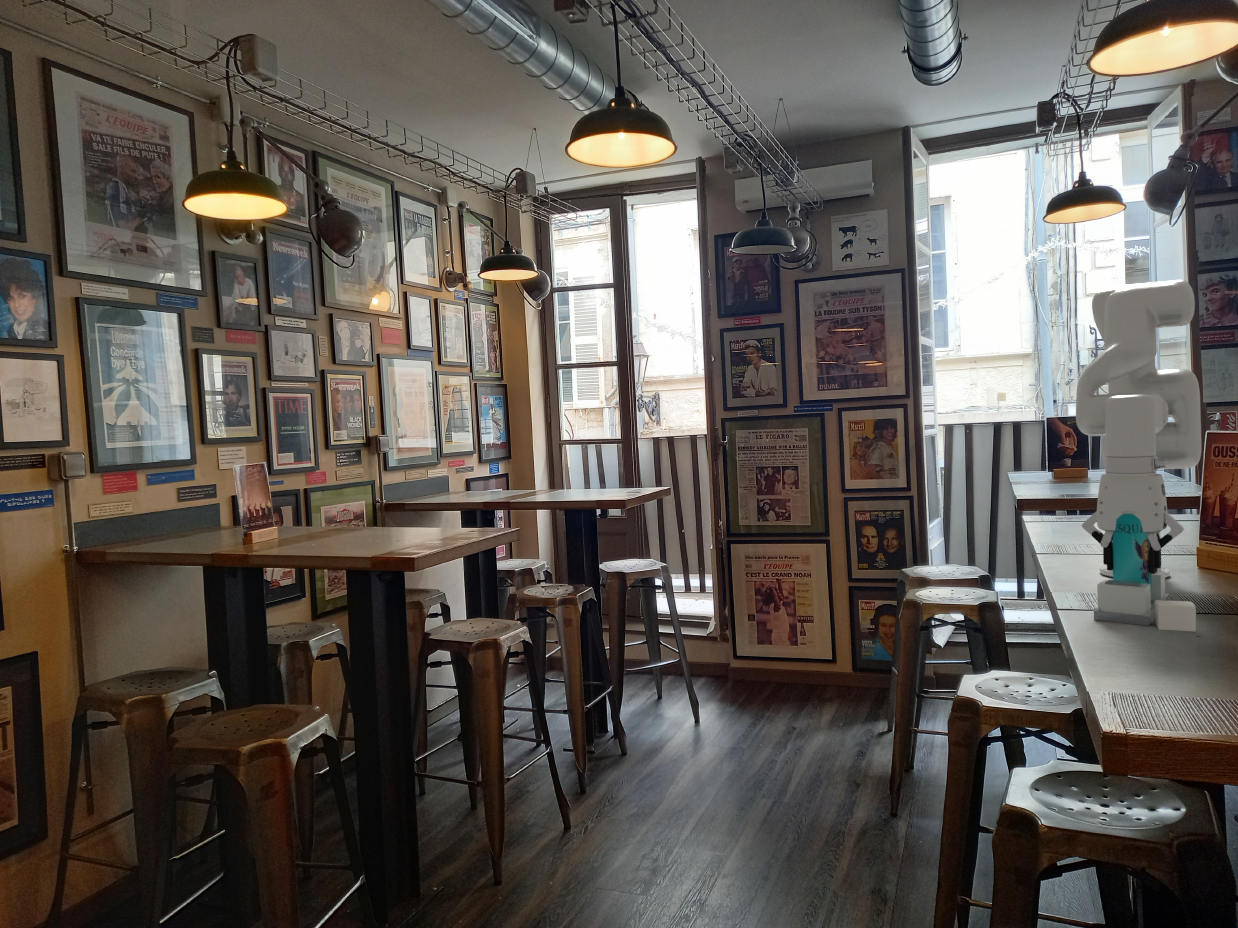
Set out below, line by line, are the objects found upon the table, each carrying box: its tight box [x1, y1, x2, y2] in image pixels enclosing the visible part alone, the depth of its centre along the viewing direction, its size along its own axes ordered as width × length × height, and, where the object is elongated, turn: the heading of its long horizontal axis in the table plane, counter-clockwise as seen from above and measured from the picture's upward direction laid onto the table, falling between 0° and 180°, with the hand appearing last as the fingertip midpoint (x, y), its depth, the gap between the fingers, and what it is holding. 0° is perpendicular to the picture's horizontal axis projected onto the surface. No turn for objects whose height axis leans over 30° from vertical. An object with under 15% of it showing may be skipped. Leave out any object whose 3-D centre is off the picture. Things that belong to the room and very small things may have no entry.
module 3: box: [1154, 600, 1197, 632], centre depth 138 cm, size 4×5×4 cm
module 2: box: [1150, 570, 1166, 600], centre depth 154 cm, size 4×7×5 cm, turn 49°
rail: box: [1093, 592, 1170, 627], centre depth 149 cm, size 18×8×2 cm, turn 139°
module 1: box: [1096, 579, 1151, 615], centre depth 144 cm, size 4×7×5 cm, turn 48°
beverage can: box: [1112, 511, 1152, 590], centre depth 149 cm, size 6×6×15 cm
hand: (1132, 569), depth 149 cm, fingers closed on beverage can, 5 cm apart
